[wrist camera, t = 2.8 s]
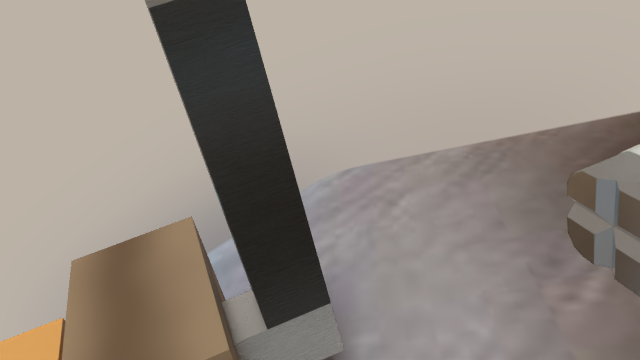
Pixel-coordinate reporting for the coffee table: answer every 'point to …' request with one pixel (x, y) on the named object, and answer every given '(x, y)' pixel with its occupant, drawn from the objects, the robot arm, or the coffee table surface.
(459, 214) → the coffee table surface
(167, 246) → the bearing block
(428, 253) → the coffee table surface
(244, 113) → the grey l-shaped piece
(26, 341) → the block
